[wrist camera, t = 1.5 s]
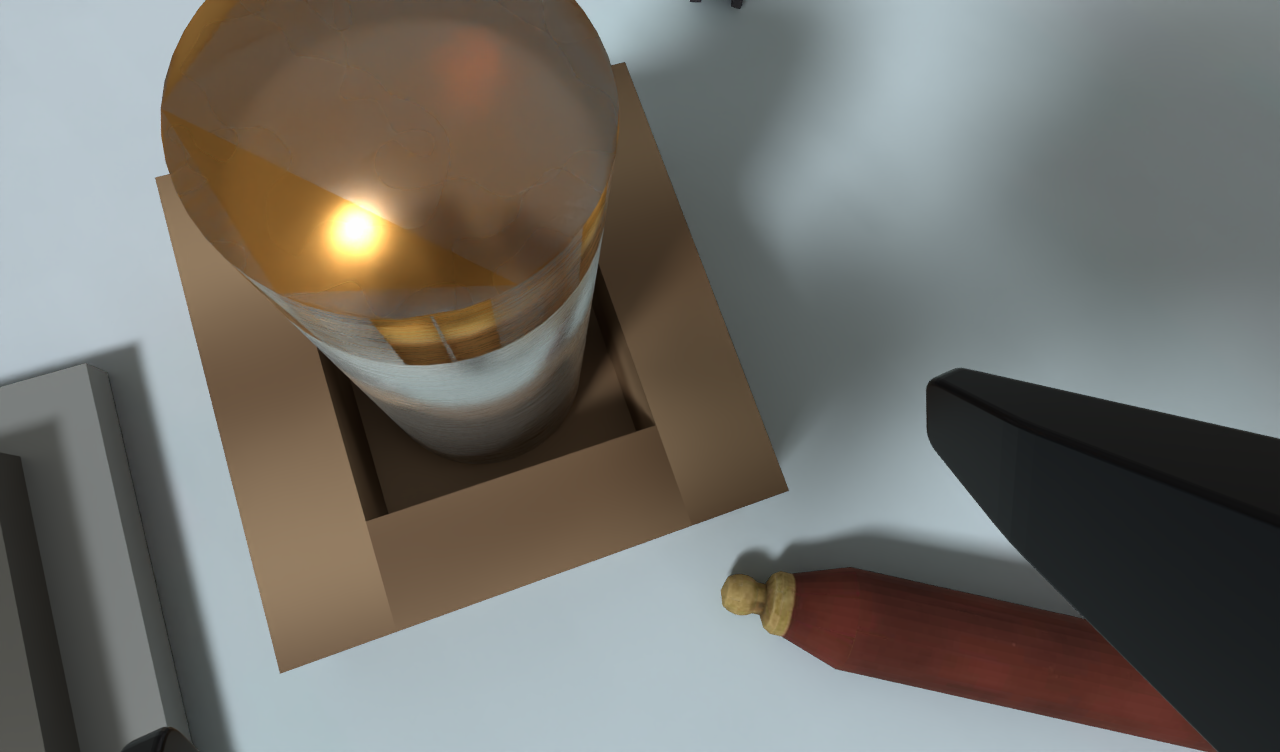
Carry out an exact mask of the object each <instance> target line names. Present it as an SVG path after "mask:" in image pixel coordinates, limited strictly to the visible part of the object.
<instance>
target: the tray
mask: <svg viewBox="0 0 1280 752" xmlns="http://www.w3.org/2000/svg"><path fill="white" fill-rule="evenodd" d="M166 726H171V727H174V728H176V729H177V730H179V731H180V732H181V733H182V734H183V735H184V736H185V737H186V738H187V739H188V740H189V741H190V742H191V743H192V741H191V736H190V732H189V727H188V723H187V719H186V714H185V710H184V706H183V701H182V697H181V692H180V688H179V684H178V679H177V675H176V671H175V666H174V662H173V657H172V653H171V649H170V644H169V640H168V636H167V631H166V627H165V622H164V618H163V614H162V609H161V605H160V601H159V596H158V592H157V587H156V583H155V579H154V574H153V570H152V566H151V561H150V557H149V552H148V548H147V544H146V539H145V535H144V531H143V526H142V522H141V517H140V513H139V509H138V504H137V500H136V496H135V491H134V487H133V482H132V478H131V474H130V469H129V465H128V461H127V456H126V452H125V447H124V443H123V439H122V434H121V430H120V426H119V421H118V417H117V412H116V408H115V404H114V399H113V395H112V391H111V386H110V382H109V377H108V373H107V372H105V371H103V370H100V369H98V368H96V367H94V366H91V365H89V364H87V363H84V364H80V365H77V366H73V367H70V368H66V369H62V370H59V371H55V372H52V373H48V374H45V375H41V376H38V377H34V378H30V379H27V380H23V381H20V382H16V383H13V384H9V385H5V386H2V387H0V752H121V750H122V749H123V748H124V747H125V746H126V745H127V744H128V743H130V742H131V741H133V740H135V739H137V738H139V737H142V736H144V735H146V734H148V733H150V732H153V731H155V730H157V729H159V728H162V727H166Z"/></svg>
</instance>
